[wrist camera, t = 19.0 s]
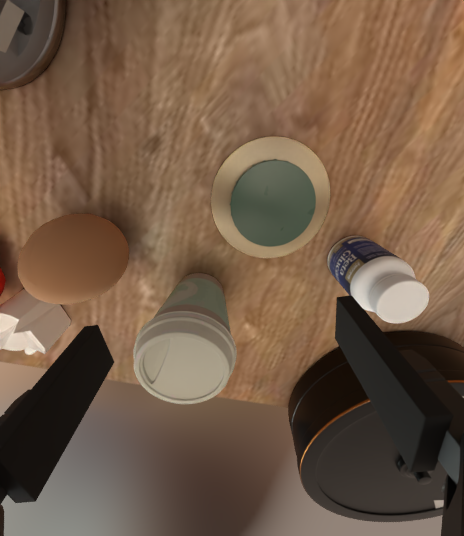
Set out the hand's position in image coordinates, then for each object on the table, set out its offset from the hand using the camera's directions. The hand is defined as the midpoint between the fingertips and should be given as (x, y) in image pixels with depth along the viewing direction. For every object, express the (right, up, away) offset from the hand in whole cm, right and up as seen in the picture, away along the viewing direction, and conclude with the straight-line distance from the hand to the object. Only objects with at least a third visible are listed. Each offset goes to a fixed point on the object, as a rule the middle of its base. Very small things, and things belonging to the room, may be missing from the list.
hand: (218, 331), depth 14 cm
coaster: (+5, +10, +12) cm, 17 cm away
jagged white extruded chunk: (-24, -2, +18) cm, 30 cm away
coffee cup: (-3, 0, +17) cm, 17 cm away
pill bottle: (+14, +5, +15) cm, 21 cm away
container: (+23, -21, +15) cm, 35 cm away
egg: (-13, +7, +14) cm, 20 cm away
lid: (+5, +9, +10) cm, 15 cm away
